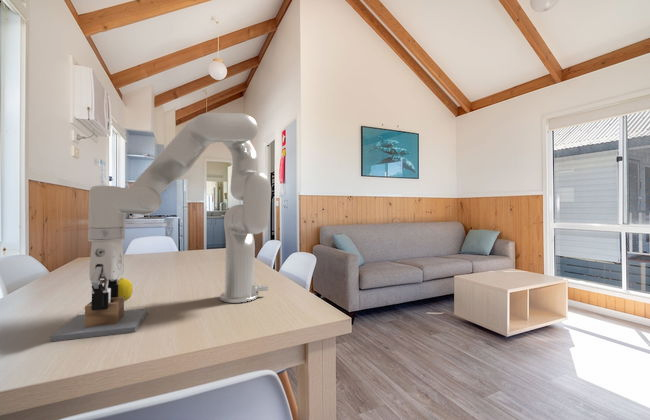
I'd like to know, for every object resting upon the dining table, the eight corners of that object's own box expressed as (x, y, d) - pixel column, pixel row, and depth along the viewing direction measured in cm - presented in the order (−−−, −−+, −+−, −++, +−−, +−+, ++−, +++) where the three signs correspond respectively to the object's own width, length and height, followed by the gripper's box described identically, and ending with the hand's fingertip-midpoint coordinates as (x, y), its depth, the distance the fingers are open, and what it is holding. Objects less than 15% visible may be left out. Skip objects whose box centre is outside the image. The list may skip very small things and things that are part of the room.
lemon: (121, 306, 88) (122, 280, 88) (106, 305, 89) (106, 279, 89) (136, 301, 93) (137, 276, 93) (122, 300, 94) (122, 275, 95)
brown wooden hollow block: (123, 315, 78) (124, 296, 78) (116, 323, 72) (116, 303, 72) (94, 318, 76) (95, 298, 76) (84, 327, 70) (85, 306, 70)
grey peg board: (147, 312, 83) (147, 280, 83) (135, 331, 70) (135, 293, 70) (77, 319, 78) (78, 284, 78) (50, 341, 64) (51, 299, 65)
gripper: (114, 237, 67) (112, 314, 67) (133, 232, 83) (131, 294, 83) (73, 237, 65) (71, 318, 64) (101, 232, 81) (100, 296, 81)
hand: (105, 304), depth 74 cm, fingers open, 7 cm apart
